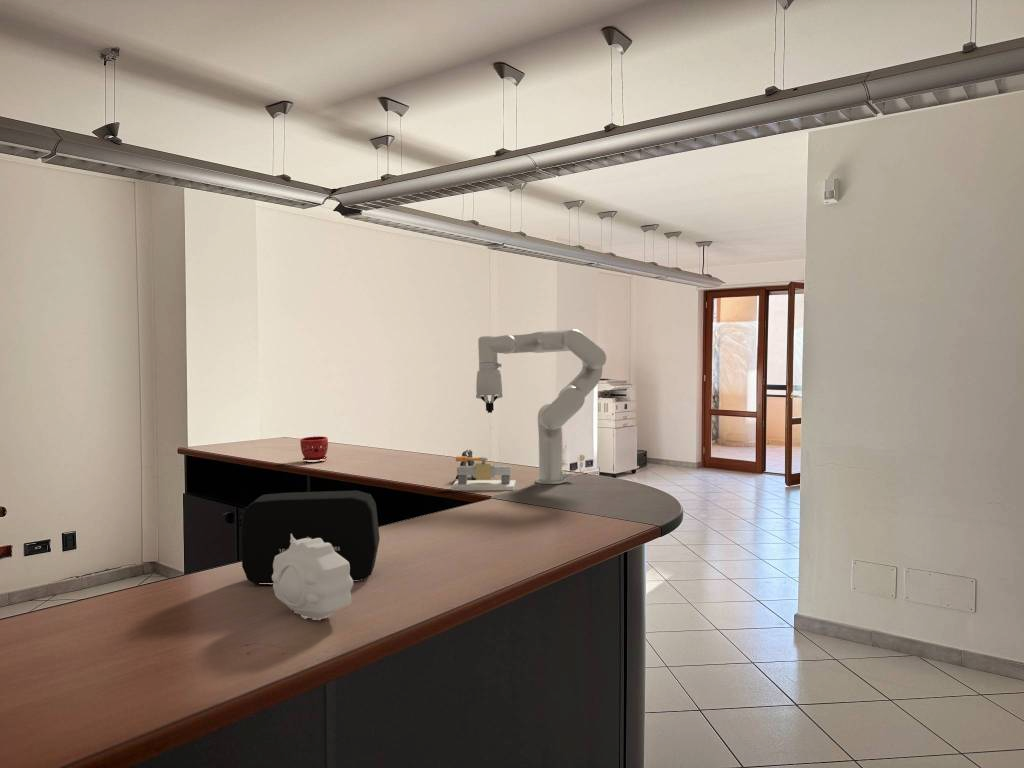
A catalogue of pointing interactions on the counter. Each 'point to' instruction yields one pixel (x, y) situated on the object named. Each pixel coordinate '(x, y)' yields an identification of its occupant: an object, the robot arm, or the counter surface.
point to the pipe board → (484, 484)
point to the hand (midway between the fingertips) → (489, 412)
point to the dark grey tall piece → (470, 463)
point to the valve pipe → (484, 470)
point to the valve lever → (470, 458)
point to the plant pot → (314, 447)
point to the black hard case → (310, 529)
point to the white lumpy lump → (312, 578)
